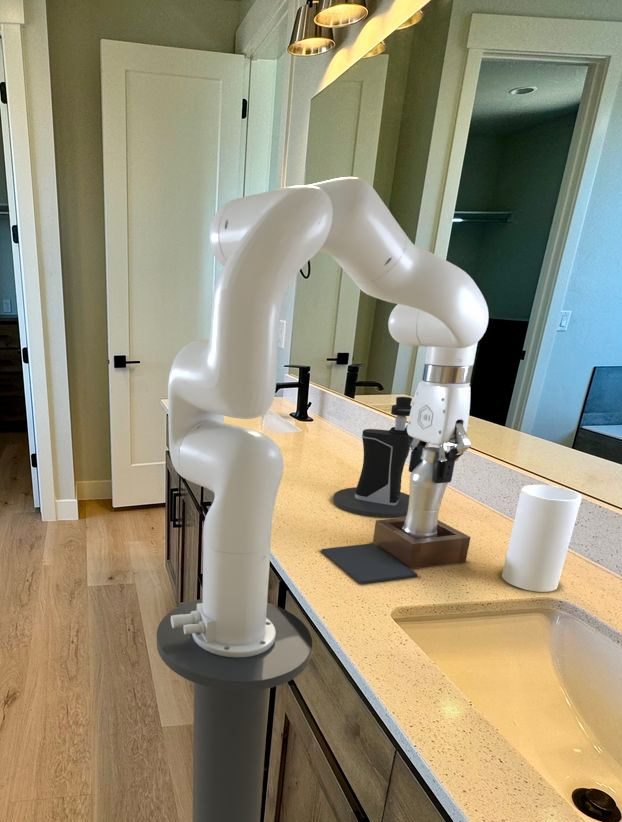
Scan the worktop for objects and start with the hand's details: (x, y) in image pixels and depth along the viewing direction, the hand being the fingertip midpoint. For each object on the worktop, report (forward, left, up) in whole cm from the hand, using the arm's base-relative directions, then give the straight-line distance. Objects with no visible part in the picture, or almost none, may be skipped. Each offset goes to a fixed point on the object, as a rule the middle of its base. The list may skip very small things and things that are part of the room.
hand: (429, 476), depth 104 cm
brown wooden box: (0, 0, -15) cm, 15 cm away
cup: (+11, -15, -16) cm, 24 cm away
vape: (+8, +27, -16) cm, 32 cm away
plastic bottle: (0, 0, -15) cm, 15 cm away
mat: (-12, -2, -15) cm, 19 cm away
